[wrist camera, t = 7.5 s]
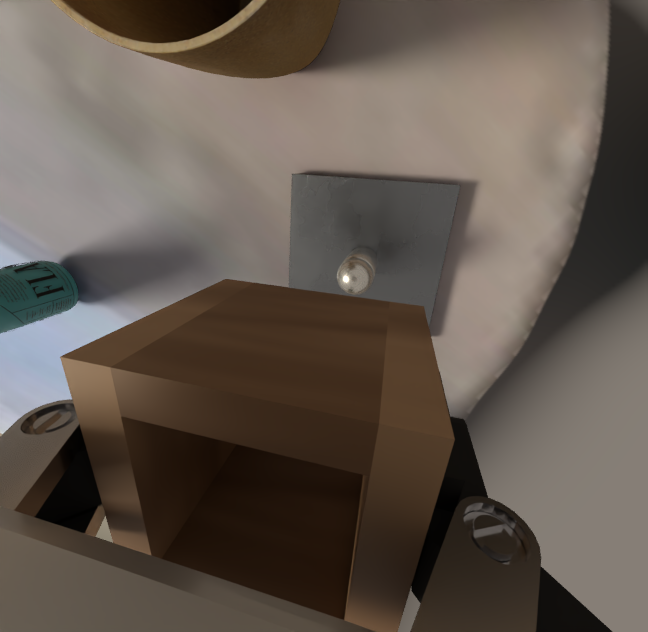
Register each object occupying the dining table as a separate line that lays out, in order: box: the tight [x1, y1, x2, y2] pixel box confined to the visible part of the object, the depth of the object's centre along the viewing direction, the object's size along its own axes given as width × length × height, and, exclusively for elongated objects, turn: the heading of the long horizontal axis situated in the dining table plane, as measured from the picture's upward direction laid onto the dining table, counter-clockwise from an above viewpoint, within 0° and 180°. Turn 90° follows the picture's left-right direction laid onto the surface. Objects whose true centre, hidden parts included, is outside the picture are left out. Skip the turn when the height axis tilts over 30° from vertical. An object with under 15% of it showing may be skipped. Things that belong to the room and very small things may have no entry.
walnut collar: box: [60, 279, 455, 632], centre depth 8 cm, size 6×6×6 cm
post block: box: [289, 174, 460, 326], centre depth 26 cm, size 14×14×8 cm
